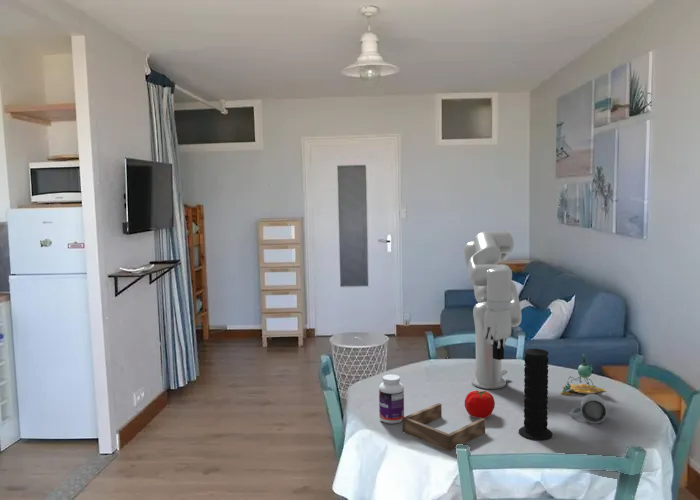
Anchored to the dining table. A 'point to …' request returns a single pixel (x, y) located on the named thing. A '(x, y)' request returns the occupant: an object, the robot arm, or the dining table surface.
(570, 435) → the dining table surface
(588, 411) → the ceramic mug
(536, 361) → the handle grip
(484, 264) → the robot arm
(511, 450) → the dining table surface
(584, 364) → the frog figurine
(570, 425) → the dining table surface
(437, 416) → the box
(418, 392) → the dining table surface
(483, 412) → the tomato
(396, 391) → the pill bottle
